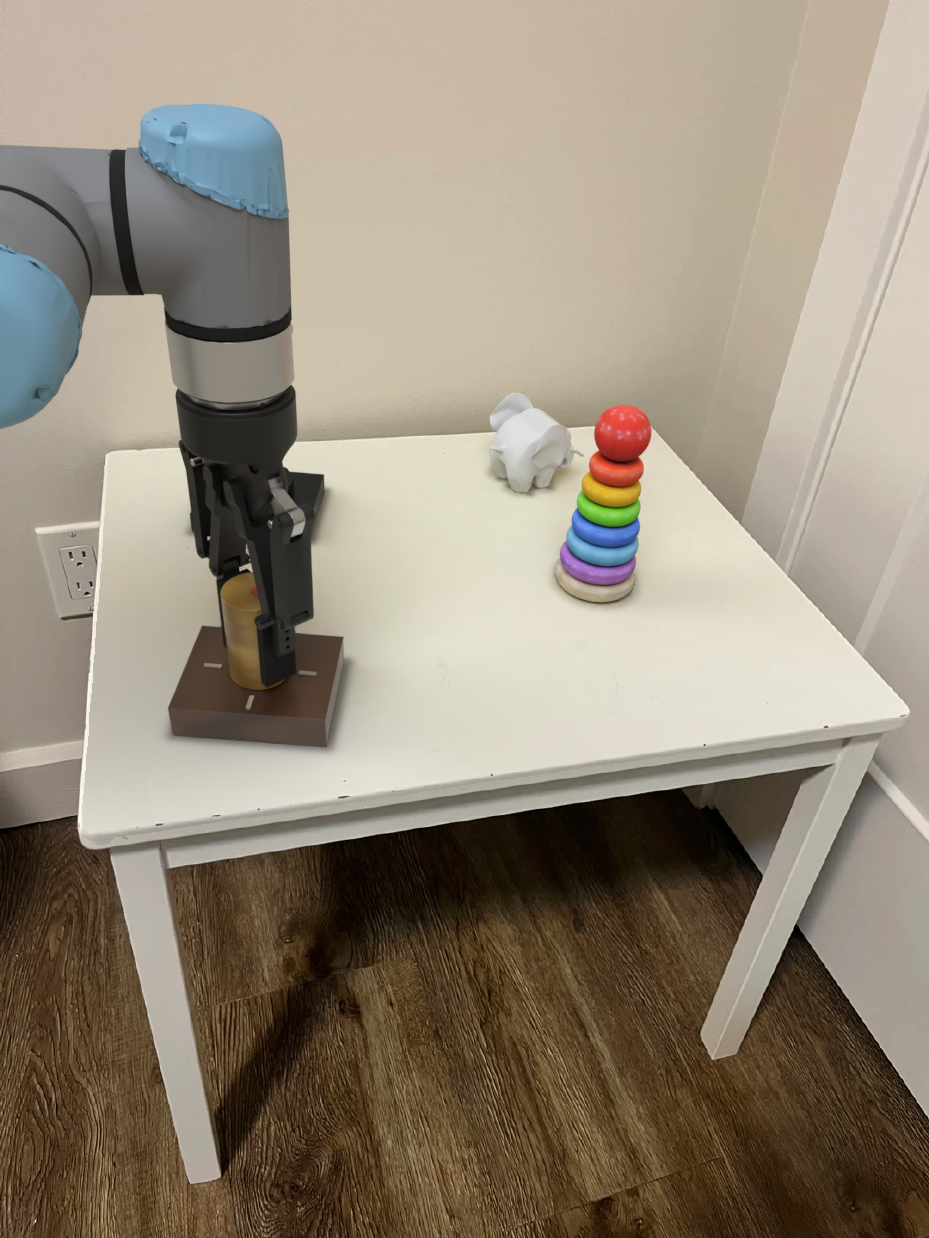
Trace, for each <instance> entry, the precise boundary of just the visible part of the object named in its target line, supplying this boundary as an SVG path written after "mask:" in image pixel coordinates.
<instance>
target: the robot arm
mask: <svg viewBox="0 0 929 1238" xmlns="http://www.w3.org/2000/svg"><path fill="white" fill-rule="evenodd" d="M139 124H140V125H139V127H140V130H139V131H140V137H139V139H138V142H137V143H138V147H126V149H119V148H117V149H115V148H114V149H105V148H104V149H103V148H82V147H62V146H61V147H60V146H58V147H57V146H56V147H55V146H38V145H37V146H35V145H17V144H16V145H13V144H0V430H2V429H6V428H10V427H14V426H16V425H19V424H22V423H24V422H26V421H27V420H29V419H32V418H33V417H35V416H37V414H39V413H40V412H41V411H43V410H44V409H45V408H46V407H47V405H48V404H50V403H51V402H52V400H53V398H54V397H56V396H57V395H58V393H59V391H60V389H61V387H62V384H63V381H64V380H65V378H66V376H67V374H68V373H69V372H70V371H71V369H72V368H73V366H74V364H75V362H76V361H77V358H78V356H79V354H80V343H81V339H82V337H83V325H84V322H85V318H86V313H87V309H88V306H89V303H90V301H91V298H92V296H93V297H94V296H99V297H100V296H101V297H102V296H109V297H111V296H112V297H113V296H145V295H158V296H159V295H160V296H161V299H162V302H163V312H164V327H165V334H166V342H167V343H166V344H167V349H168V357H169V365H170V372H171V381H172V383H173V385H174V386H175V387H176V388H177V389H176V390H175V404H176V412H177V419H178V426H179V428H178V429H179V434H180V435H179V436H180V439H179V441H178V449H179V451H180V455H181V459H182V462H183V465H184V468H185V475H186V482H187V488H188V489H187V490H188V497H189V505H190V513H192V521H193V529H194V532H193V536H194V544H195V551H196V554H197V556H198V557H199V558H200V559H202V560H204V559H206V558H207V559H208V568H209V571H210V573H211V574H212V576H214V577H215V578H216V580H215V584H216V594H217V601H218V609H219V617H220V618H219V619H220V627H222V636H223V644H224V646H225V647H226V648H227V645H226V636H225V628H224V619H223V611H222V602H221V589H222V587H223V585H224V584H225V583H226V582H227V581H228V580H229V579H231V578H233V577H235V576H237V575H240V574H244V573H250V572H253V575H254V580H255V584H256V589H257V593H258V598H259V602H260V607H261V611H262V615H260V616H257V617H256V619H254V623H255V625H256V626H257V638H258V649H259V661H260V672H261V683H262V684H263V685H264V686H265V687H266V688H268V687H270V686H272V685H274V684H276V683H278V682H280V681H282V680H284V679H286V678H288V677H290V676H292V675H294V674H296V659H295V648H296V639H295V633H296V627H297V626H300V625H301V624H304V623H306V622H308V621H310V620H313V619H314V617H315V608H314V585H313V584H314V583H313V560H312V559H313V558H312V534H311V531H312V528H313V524H314V520H315V512H314V510H313V508H312V506H311V505H310V504H308V503H307V504H304V505H301V506H297V505H296V504H295V503H294V501H293V500H292V499H291V497H290V496H289V495H288V494H287V491H288V482H287V478H286V475H285V472H284V468H283V467H284V463H283V461H284V459H285V457H286V455H287V454H288V452H289V450H290V449H291V448H292V447H293V446H294V444H295V443H296V440H297V437H298V413H297V393H296V389H295V387H294V385H293V382H294V380H295V366H294V363H295V362H294V349H293V348H294V347H293V332H294V326H293V324H292V320H293V316H292V315H293V314H292V281H291V249H290V247H291V246H290V216H289V215H290V208H289V202H288V193H287V192H288V191H287V182H286V169H285V159H284V158H285V157H284V147H283V139H282V137H281V134H280V132H279V131H278V130H277V128H276V127H275V125H274V124H273V123H272V121H271V120H270V119H268V118H267V117H265V116H264V115H262V114H260V113H258V112H256V111H253V110H251V109H246V108H243V107H238V106H234V105H233V106H231V105H225V104H217V103H215V104H214V103H191V104H168V105H167V104H166V105H161V106H157V107H155V108H152V109H150V110H148V111H147V112H146V113H144V114H143V116H142V117H141V120H140V123H139ZM250 522H252V523H250ZM313 529H314V528H313ZM312 532H313V531H312ZM208 538H209V539H208ZM247 565H250V566H251V570H252V571H250V570H249V569H248V568H245V569H241V570H240V568H242V567H245V566H247Z"/></svg>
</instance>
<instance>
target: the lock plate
mask: <svg viewBox="0 0 929 1238" xmlns="http://www.w3.org/2000/svg"><path fill="white" fill-rule="evenodd" d="M295 639H296V648H295V659H296V674H294V675H292V676H290V677H288V678H286V679H285V680H284V681H283V682H282V683H281V684H279V685H277V686H275V687H272V688H269V689H264V690H251V689H246V688H243V687H241V686H239V685H238V684H236V683H235V682H234V681H233V680H232V678H231V676H230V671H229V662H228V654H227V648H226V647H225V646H224V644H223V636H222V627H221V626H212V625H201V627H200V629H199V632H198V634H197V637H196V639H195V641H194V644H193V646H192V648H191V651H190V653H189V656H188V658H187V661H186V663H185V666H184V668H183V670H182V672H181V675H180V678H179V680H178V683H177V685H176V687H175V690H174V692H173V694H172V697H171V700H170V702H169V704H168V706H167V710H168V715H169V722H170V727H171V731H172V736H178V737H190V738H202V739H203V738H204V739H216V740H217V739H218V740H228V741H229V740H230V741H243V742H256V743H268V744H281V745H291V746H292V745H293V746H306V747H309V746H310V747H319V748H327V745H328V740H329V735H330V730H331V725H332V722H333V721H332V720H333V716H334V711H335V707H336V702H337V697H338V693H339V687H340V682H341V678H342V673H343V669H344V664H345V655H344V654H345V653H344V651H345V648H344V646H345V645H344V644H345V641H344V636H338V635H327V634H313V633H303V632H302V633H301V632H295Z"/></svg>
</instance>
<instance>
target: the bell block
mask: <svg viewBox="0 0 929 1238" xmlns="http://www.w3.org/2000/svg"><path fill="white" fill-rule="evenodd" d="M283 468H284V472H285V475H286V478H287V482H288V491H287V494H288V495H289V496H290V497H291V499H292V500H293V501H294V503H295V504H296V505H297V506H301V505H304V504H307V503H308V504H310V505H311V506H312V508H313V510H314V512H315V520H314V524H313V528H312V531H311V535H312V534H313V531H314V527H315V524H316V521H317V517H318V514H319V511H320V507H321V503H322V501H323V498H324V495H325V474H323V473H311V472H301V471H290V470H289V469H288V467H285V466H283ZM189 519H190V527H191V532H192V533H194V529H193V521H192V513H191V512H190V513H189ZM250 523H252V522H250Z"/></svg>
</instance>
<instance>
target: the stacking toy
mask: <svg viewBox="0 0 929 1238" xmlns="http://www.w3.org/2000/svg"><path fill="white" fill-rule="evenodd" d="M593 435H594V437H593V438H594V442H595V446H596V447H597V449H598V450H597V451H596V452H594V453H593V454H592V455H591V457H590V458H589V460H588V461H589V462H588V469H589V471H587V473H586V474H585V475H584V476H583V478H582V480H581V490H580V491H579V493H578V495H577V498H576V508H575V509H574V511H573V513H572V515H571V525H570V526H569V528H568V530H567V533H566V538H565V541H564V542H563V543H562V546H560V550H559V559H558V560H557V562H556V565H555V577H556V580H557V582H558V583H559V585H560V586H561V588H562V589H564V591H566V592H567V593H569V594H570V595H571V596H574V597H576V598H578V599H581V600H583V601H587V602H594V603H608V602H615V601H617V600H620V599H622V598H624V597H626V596H627V595H628V594H629V593H630V592H631V591H632V590H633V589H634V586H635V585H636V584H635V583H636V572H635V568H636V566H637V557H636V554H637V552H638V551H639V545H640V544H639V537H638V535H639V533H640V531H641V524H640V523H641V522H640V519H639V516H640V515H639V514H640V513H641V502H640V501H641V500H640V499H639V498H640V496H641V494H642V485H641V482H640V479H641V478H642V476H643V474H644V470H645V466H644V462H643V461H642V459H641V458H640V456H642V455H643V454H644V453H645V451H647V448H648V447H649V445H650V442H651V439H652V426H651V422H650V419H649V418H648V416H647V415H646V413H644V412H643V410H642V409H640V408H638V407H636V406H634V405H631V404H616V405H614V406H611V407H609V408H607V409H606V410H605V411H603V412H602V413H601V415H600V416H599V417H598V419H597V421H596V422H595V426H594V431H593Z"/></svg>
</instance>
